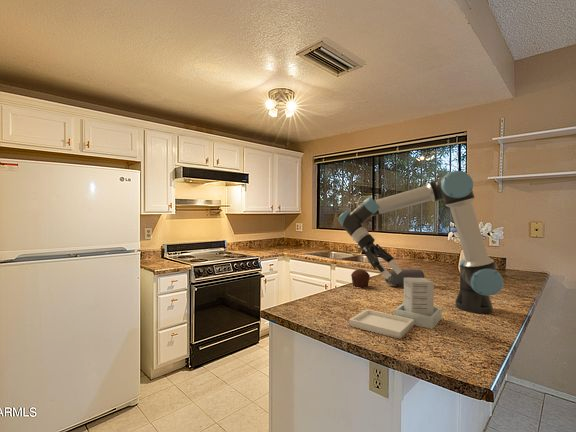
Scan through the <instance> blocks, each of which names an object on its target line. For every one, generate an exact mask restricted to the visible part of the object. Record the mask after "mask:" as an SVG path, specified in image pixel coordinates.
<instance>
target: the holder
mask: <svg viewBox="0 0 576 432" xmlns="http://www.w3.org/2000/svg"><path fill="white" fill-rule="evenodd" d="M442 310H443V309H442V308H441V307H438V306H437V307H436V306H434V312H433V314H432V315H431V316H427V315H422V314H418V313H413V312H408V311H404V302H403V303H401V304H399V306H397V307H395V308H394V309H393V315H396V316H401V317H405V318H410V319H414V326H418V327H422V328H427V329H430V330H434V328H435V327H436V325H437V324H439V322H440V321H441V320H442V317H443V316H442V313H443V312H442Z"/></svg>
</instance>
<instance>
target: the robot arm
mask: <svg viewBox="0 0 576 432" xmlns="http://www.w3.org/2000/svg"><path fill="white" fill-rule="evenodd" d="M473 189H474V181H473V178H472V177H471V175H470V174H468V173H466V172H464V171H461V170H454V171H450V172H448V173H446V174H445V175H443V176H442V177H439V178H438V179H435V180H433V181H429V182H428V183H427V184H426V185H423V186H420V187H415V188H414V189H410V190H407V191H403V192H400V193H397V194H396V193H395V194H393V195H389V196H386V197H382V198H378V199H375V200H374V199H373V198H372V197H371V196H370V197H367V198H366V199H365V200H363V201H362V203H360V204H359V205H358V206H356V208H355V209H353V210H352V211H350V210H345V211H344V212H342V213H341V214H340V215H339V217H338V219H337V220H338V223H339V224H340V225H341V227H342V228H343V230H345V231H346V232H347V234H348V235H349V236H350V237H351V238H352V240H353V241H354V242H355V243H356V244H357V245H358V247H359V248H360V249H361V250H362V251H363V253H364V255H366V258H367V259H368V261H369V263H370V266H372V268H373V269H377V270H378V272H380V274H381V275H382V276H383V277H384V279H385V278H386V279H388V278H389V277H390V276H391V274H390V273H389V272H388V271H389V270H388V269H387V268H386V267H385V266H384V265H383V264H382V263H380V260H379V258H381V259H382V260H384V261H385V262H387V264H388V266H389V267H390V268H391V269H392V270H394V271H395V272H396V273H397V275H398V274H399V273H400V272H401V271H402V270H403V269H401V268H400V267H399V265H398V264H397V263H396V262H395V261H394V256H392V255H391V254H390V253H388V252H387V250H385V249H384V248H382V247H381V246H380V244H379V243H376V244H375V238H374V237H373V236H372V234H370V232H369V231H368V229H366V227H365V226H364V225H363V224H364V223H365V222H366V221H367V220H368V219H370V218H371V217H374V216H378V215H382V214H385V213H390V212H393V211H396V210H400V209H404V208H407V207H408V208H409V207H410V206H411V207H412V206H415V205H419V204H422V203H426V202H430V201H431V202H438V201H443V202H444V205H445V207H448V208H449V209H450V213H451V216H452V219H453V222H454V226H455V228H456V232H457V235H458V239H459V242H460V244H461V250H462V253H463V255H464V259H461V260H460V265H459V291H458V294H457V296H456V299H455V301H454V302H455V304H454V305H455V307H456V308H457V309H459V310H461V311H466V312H468V313H474V314H490V313H492V312H493V311H494V307H493V303H492V300H491V296H493V295H497V294H498V293H500V291H501V290H503V287H504V278H503V276H502V275H501V273H500V272H499V271H498V270H497V269H498V268H497V267H496V263H495V260H494V259H492V258H491V257H490V256H489V255H488V251H487V248H486V244H485V241H484V238H483V235H482V232H481V228H480V225H479V221H478V219H477V215H476V212H475V208H474V205H473V202H474V200H475V195H474V191H473ZM378 257H379V258H378Z"/></svg>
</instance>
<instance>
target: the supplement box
mask: <svg viewBox="0 0 576 432" xmlns="http://www.w3.org/2000/svg"><path fill="white" fill-rule="evenodd" d="M434 285H435V282H433V281H432V280H430V279H427V278H426V277H425V278H404V286H403V303H404V311H408V312H413V313H418V314H422V315H427V316H431V315H432V314H433V312H434V307H435V305H434V299H435V298H434V295H435V293H434V292H435V290H434V289H435V287H434Z"/></svg>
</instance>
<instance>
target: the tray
mask: <svg viewBox="0 0 576 432" xmlns="http://www.w3.org/2000/svg"><path fill="white" fill-rule="evenodd" d="M348 326H349V327H351V326H352V327H353V328H355V327H356V329H359V328H360V330H363V331H366V330H367V332H370V331H371V332H370V333H374V332H375V334H378V333H379V334H378V335H382V334H383V336H385V335H387V336H386V337H389V336H391V337H390V338H393V337H394V338H393V339H397V338H398V339H397V340H401V339H402V338H403V337H405V335H406V334H407V333H408V332H409V331H410V330H412V329H413V328H414V326H415V325H414V319H410V318H405V317H401V316H396V315H394V314H391V313H386V312H381V311H377V310H372V309H368V308H366V309H364V310H363V311H360V312H359V313H358V314H356V315H354V316H352V317H351V318H349V319H348Z"/></svg>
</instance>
